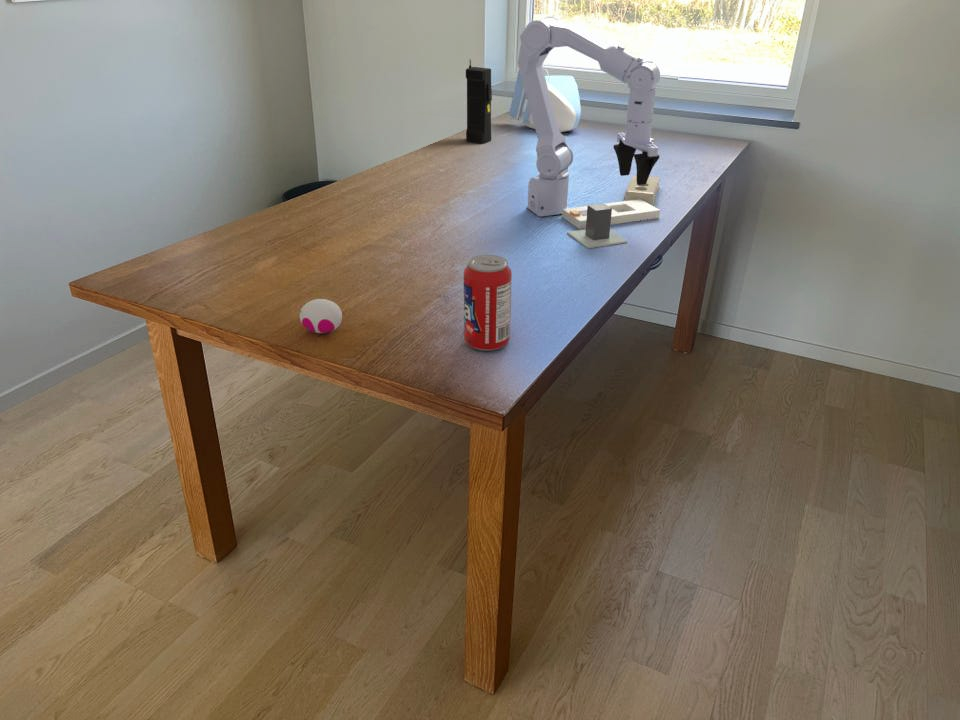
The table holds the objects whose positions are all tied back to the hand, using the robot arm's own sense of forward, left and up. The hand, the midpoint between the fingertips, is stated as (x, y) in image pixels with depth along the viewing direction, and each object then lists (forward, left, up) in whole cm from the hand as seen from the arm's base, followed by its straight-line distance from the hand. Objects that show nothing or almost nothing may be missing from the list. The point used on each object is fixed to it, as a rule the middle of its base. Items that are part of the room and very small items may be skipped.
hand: (632, 179), depth 176 cm
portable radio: (-5, +84, -11) cm, 85 cm away
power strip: (-2, +4, -10) cm, 12 cm away
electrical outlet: (+14, +16, -11) cm, 24 cm away
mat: (-12, -7, -10) cm, 17 cm away
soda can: (-54, -44, -11) cm, 70 cm away
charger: (-12, -7, -10) cm, 17 cm away
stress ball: (-80, -29, -11) cm, 86 cm away
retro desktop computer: (+25, +93, -11) cm, 97 cm away
